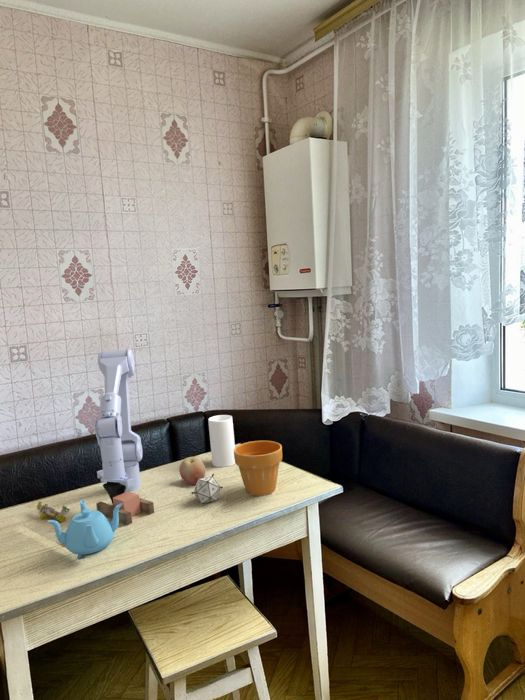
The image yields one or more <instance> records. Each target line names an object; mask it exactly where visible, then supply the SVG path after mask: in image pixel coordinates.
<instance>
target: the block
mask: <svg viewBox="0 0 525 700" xmlns="http://www.w3.org/2000/svg"><path fill="white" fill-rule="evenodd" d="M139 498H140V496H139V494H137V493H134V492H132V491H131V492H125V493H123V494H120V495H118V496H116V497H113V504H112V506H113V505H114V506H115V507H116V506H117V505H119V504H121V503H123V504H122V505H121V507H120V509H123V510H126V511H128V512H131V516H132V517H134V516H136V515H138V514H139V513H141V509H140V501H139Z"/></svg>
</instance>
